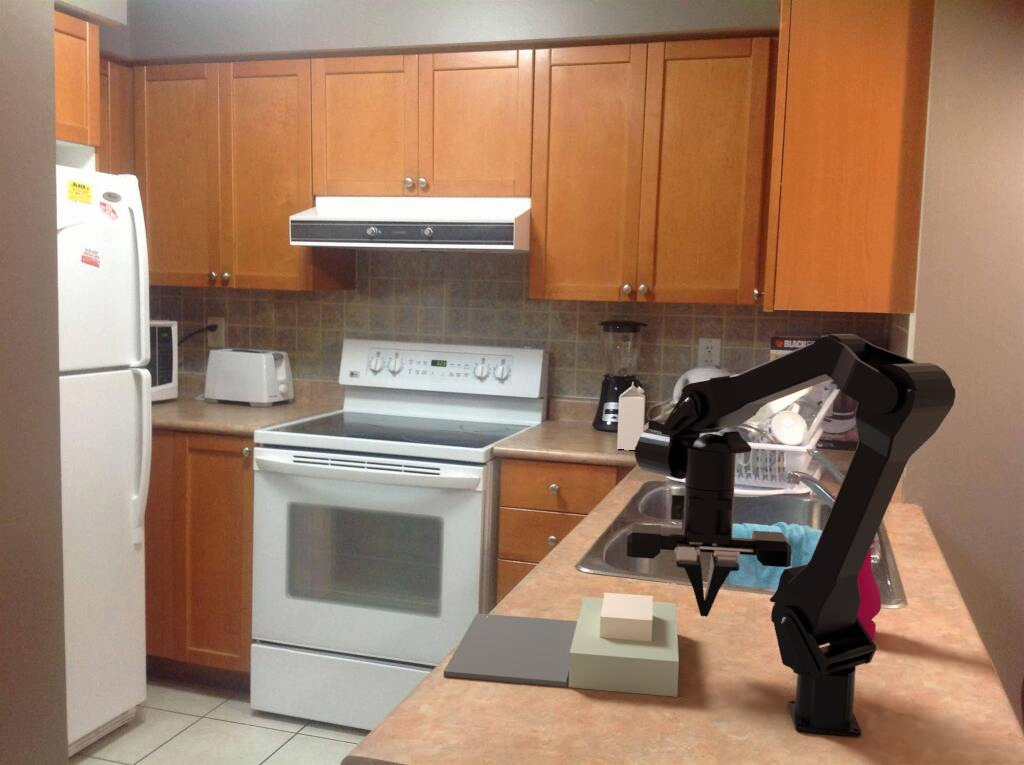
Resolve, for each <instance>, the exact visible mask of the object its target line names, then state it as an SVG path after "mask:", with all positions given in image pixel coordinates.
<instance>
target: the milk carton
mask: <svg viewBox="0 0 1024 765" xmlns="http://www.w3.org/2000/svg"><path fill="white" fill-rule="evenodd" d="M634 383H635V382H634V381H632V383H631V386H630V387H628V388H627V389H626V390H624V392H623V393H621V394H620V395H619V397H618V417H617V441H616V442H617V444H616V445H617V446H616V447H617V448H616V450H617V449H624V450H623V451H629V450H635V446H636V445H637V443H638V440H639V438H640V436H641V435H642V434H643V432H645V412H646V411H645V410H646V395H645V394H644V393H645V390H644V389H643V388H642V387H640V386H638V387H636V386H635V385H634Z"/></svg>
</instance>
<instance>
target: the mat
mask: <svg viewBox="0 0 1024 765" xmlns="http://www.w3.org/2000/svg"><path fill="white" fill-rule="evenodd" d="M487 616H488V617H487ZM486 617H487V618H486ZM577 621H578V620H569V619H568V620H567V619H557V618H556V619H554V618H542V617H541V618H540V617H528V616H514V615H505V614H504V615H501V614H490V613H489V614H488V613H476V614H475V616H474V617H473V619H472V621H471V623H470V624H469V626H468V628H467V630H466V631H465V633H464V635H463V637H462V638H461V640H460V642H459V644H458V646H457V648H456V649H455V651H454V652H453V654H452V655H451V656H452V657H450V660H449V662H448V663H447V664H446V666H445V667H444V670H443V677H446V678H459V679H469V680H470V679H471V680H480V681H493V682H505V683H516V684H528V685H538V686H551V687H561V688H566V687H567V685H568V684H567V683H568V681H569V658H570V649H571V645H572V641H573V637H574V633H575V629H576V625H577Z"/></svg>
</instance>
